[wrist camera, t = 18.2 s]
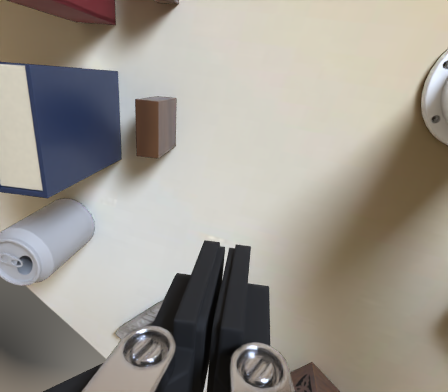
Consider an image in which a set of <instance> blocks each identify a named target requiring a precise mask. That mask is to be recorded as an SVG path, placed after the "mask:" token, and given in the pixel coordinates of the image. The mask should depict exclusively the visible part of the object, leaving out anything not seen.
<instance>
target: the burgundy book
mask: <svg viewBox="0 0 448 392" xmlns="http://www.w3.org/2000/svg"><path fill="white" fill-rule="evenodd" d="M7 1H11V2H14V3H17V4H20V5H23V6H26V7H30V8H33V9H36V10H39V11H42V12H45V13H48V14H52V15H55V16H58V17H61V18H64V19H67V20H71V21H74V22H82V23H96V24H111V25H116V19H115V0H7Z"/></svg>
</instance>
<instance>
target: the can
mask: <svg viewBox="0 0 448 392" xmlns="http://www.w3.org/2000/svg"><path fill="white" fill-rule="evenodd" d="M94 231H95V223H94V219H93V217H92V215H91V213H90V212H89V211H88V209H87V208H86V207H85V206H83V205H82V204H81V203H79V202H77V201H75V200H72V199H65V198H63V199H59V200H56V201H54V202H52V203H51V204H49V205H47V206H45V207H43V208H42V209H40V210H38V211H36V212H35V213H33V214H31V215H29V216H28V217H26V218H24V219H22V220H20V221H19V222H17V223H15V224H13V225H12V226H10V227H8V228H6V229H5V230H3V231H2V232H0V277H1V278H3V279H4V280H6V281H7V282H9V283H12V284H14V285H20V286H25V285H30V284H32V283H36V282H41V281H43V280H45V279H47V278H48V277H49V276H50V275H51V274H53V273H54V272H55V271H56V270H57V269H58V268H59V267H60V266H61V265H63V264H64V263H65V262H66V261H67V260H68V259H69V258H70V257H71V256H73V255H74V254H75V253H76V252H77V251H78V250H79V249H80V248H82V247H83V246H84V245H85V244H86V243H87V242H88V241H89V240H90V239H91V238H92V236H93V235H94Z"/></svg>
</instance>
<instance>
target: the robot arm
mask: <svg viewBox="0 0 448 392" xmlns="http://www.w3.org/2000/svg"><path fill="white" fill-rule="evenodd" d="M443 63H444V64H445V66H444V67H443ZM421 109H422V116H423V119H424V121H425V124H426V126H427V127H428V129H429V131H430V132H431V133H432V134H433V135H434V136H435V137H436V138H437V139H438V140H440V141H441V142H443V143H445V144H446V145H448V50H447V51H446V52H445V53H444V54H443V55H442V56H441V57H440V58H439V59H438V60H437V62H436V63H435V65H434V66H433V68H432V69H431V71H430V73H429V75H428V77H427V79H426V81H425V84H424V88H423V91H422V99H421ZM432 117H434V119H433V120H432ZM250 250H251V247H250V246H243V245H236V247H235V248H229V252H228V257H227V261H226V266H225V271H224V275H223V265H224V254H225V247H220V242H213V241H204V243H203V246H202V248H201V251H200V253H199V256H198V259H197V261H196V264H195V266H194V269H193V272H192V274H191V275H186V274H179V273H177V274H176V275H175V277H174V279H173V281H172V284H171V286H170V288H169V290H168V292H167V294H166V296H165V299H164V301H163V303H162V305H161V307H160V309H159V311H158V314H157V316H156V318H155V320H154V322H153V324H152V326H143V327H140V328H137V329H134V330H133V331H131V332H129V333H128V334H127V335H126V336H125V337H124V338H123V339H122V340H121V341H120V342H119V344H118V345H117V346H116V347H115V349H114V350H113V351H112V353H111V354H110V355H109V357H108V358H107V359H106V361H105V362H104V363H102V364H100V365H98V366H96V367H94V368H92V369H90V370H88V371H86V372H83V373H81V374H79V375H77V376H75V377H73V378H71V379H69V380H67V381H64V382H63V383H60V384H58V385H56V386H54V387H52V388H50V389H48V390H46V391H43V392H203V390H204V385H205V380H206V375H207V370H208V365H209V373H208V385H207V392H296V391H295V390H294V386H293V382H292V378H291V374H290V370H289V367H288V364H287V362H286V360H285V358H284V357H283V356H282V355H281V353H280V352H278V351H277V350H276V349H274V348H273V347H271V346H270V309H269V286H262V285H256V284H249V283H248V273H249V261H250ZM222 276H223V280H222ZM209 360H210V361H209Z"/></svg>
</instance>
